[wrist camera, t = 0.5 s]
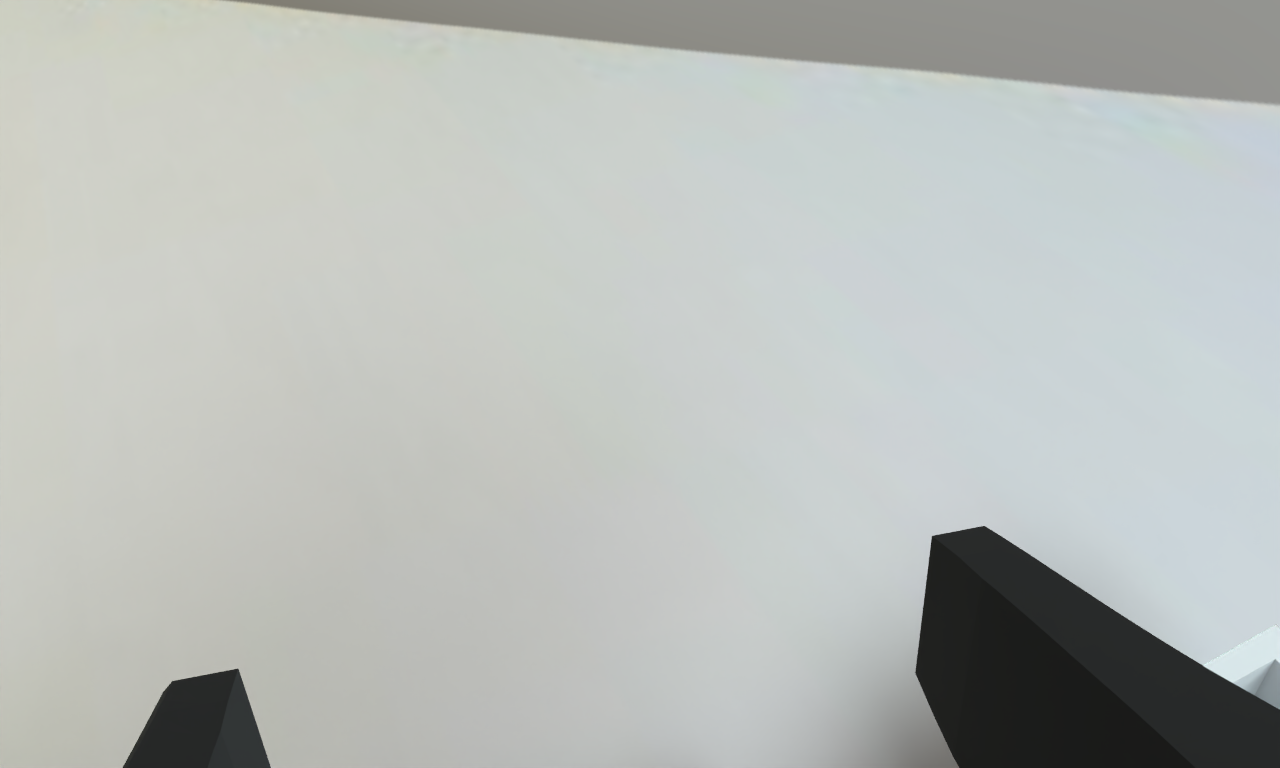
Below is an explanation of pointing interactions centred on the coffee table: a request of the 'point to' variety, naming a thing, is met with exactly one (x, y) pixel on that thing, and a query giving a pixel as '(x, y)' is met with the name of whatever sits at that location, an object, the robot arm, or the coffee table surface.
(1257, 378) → the coffee table surface
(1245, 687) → the white crate
